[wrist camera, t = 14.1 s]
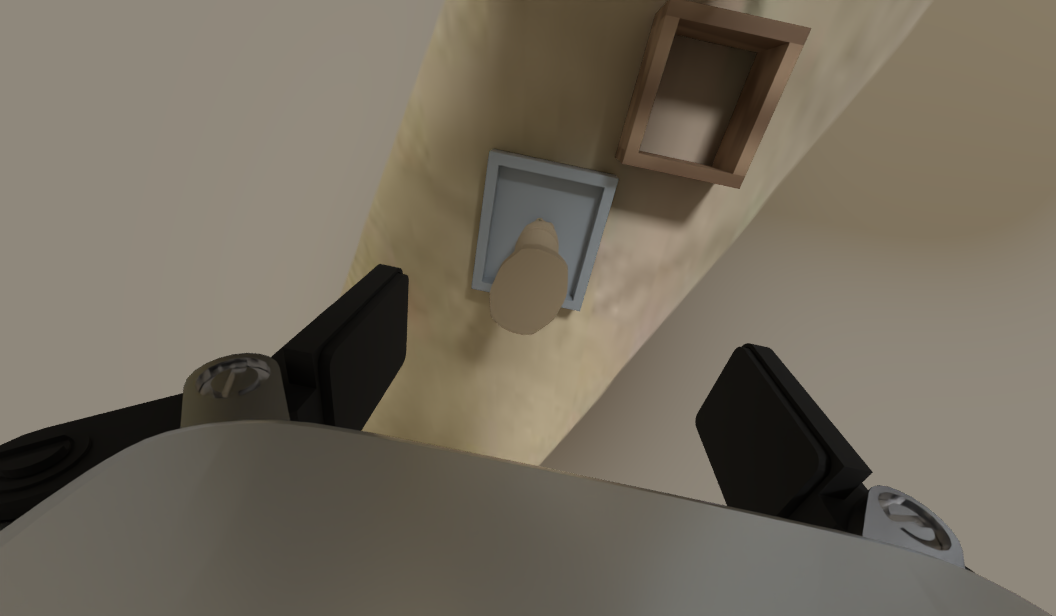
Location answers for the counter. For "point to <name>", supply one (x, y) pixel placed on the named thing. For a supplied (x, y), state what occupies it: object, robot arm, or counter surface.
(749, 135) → the holder
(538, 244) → the handle
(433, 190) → the counter surface
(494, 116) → the counter surface
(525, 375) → the counter surface
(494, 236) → the tray
